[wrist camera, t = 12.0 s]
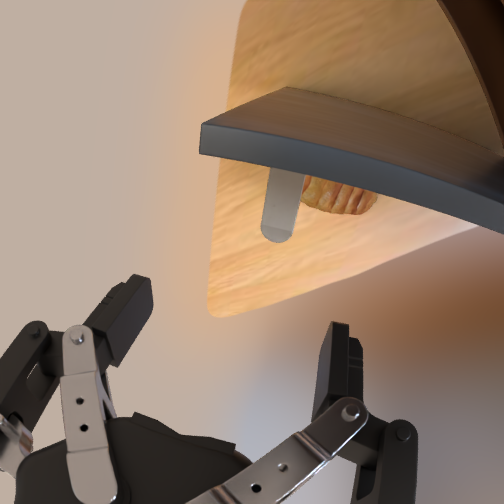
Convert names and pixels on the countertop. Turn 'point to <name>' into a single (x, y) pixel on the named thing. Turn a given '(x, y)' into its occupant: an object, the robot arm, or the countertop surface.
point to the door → (355, 157)
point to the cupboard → (482, 46)
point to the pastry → (336, 196)
